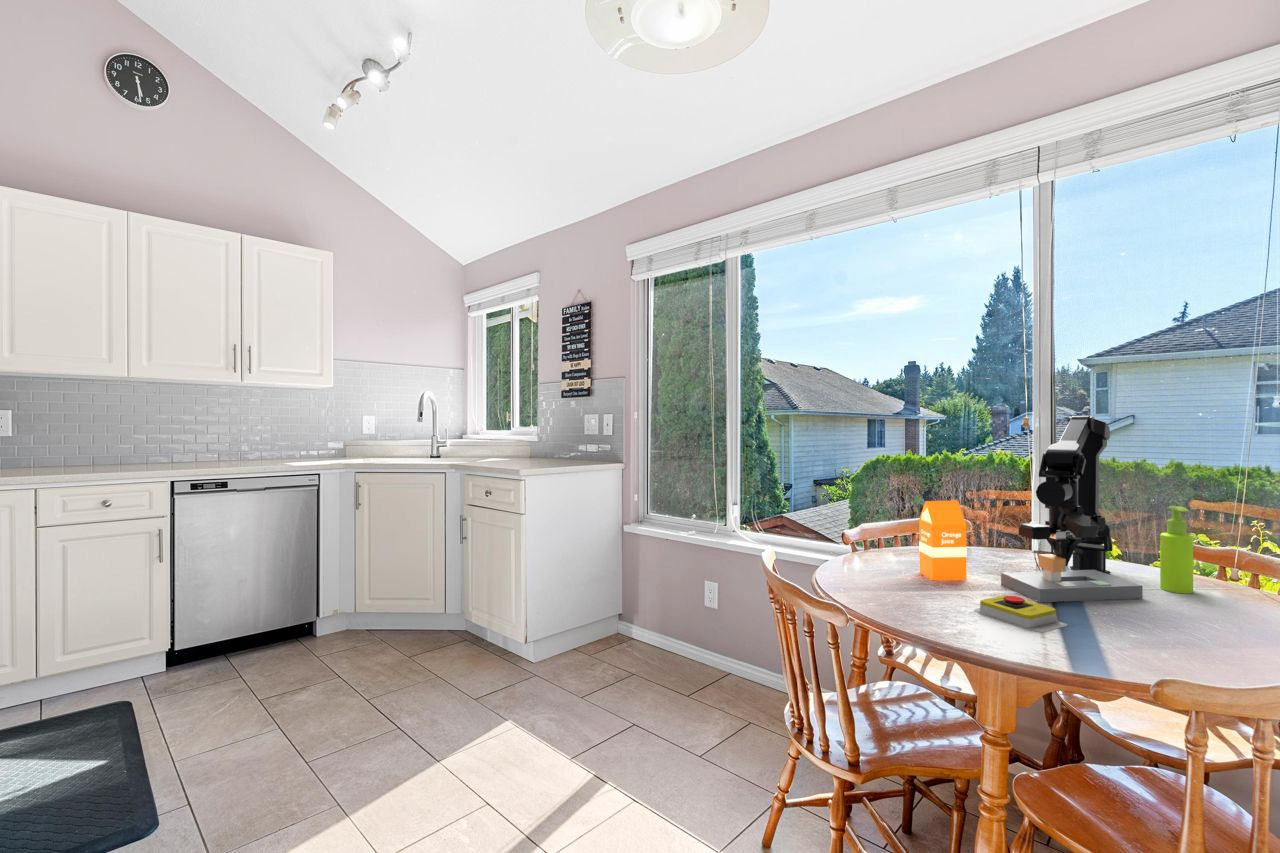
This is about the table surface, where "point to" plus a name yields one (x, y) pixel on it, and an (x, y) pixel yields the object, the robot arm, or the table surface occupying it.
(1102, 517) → the robot arm
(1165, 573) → the soap dispenser
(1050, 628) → the emergency button
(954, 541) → the orange juice
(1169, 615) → the table surface
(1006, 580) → the breaker box
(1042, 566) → the lever
